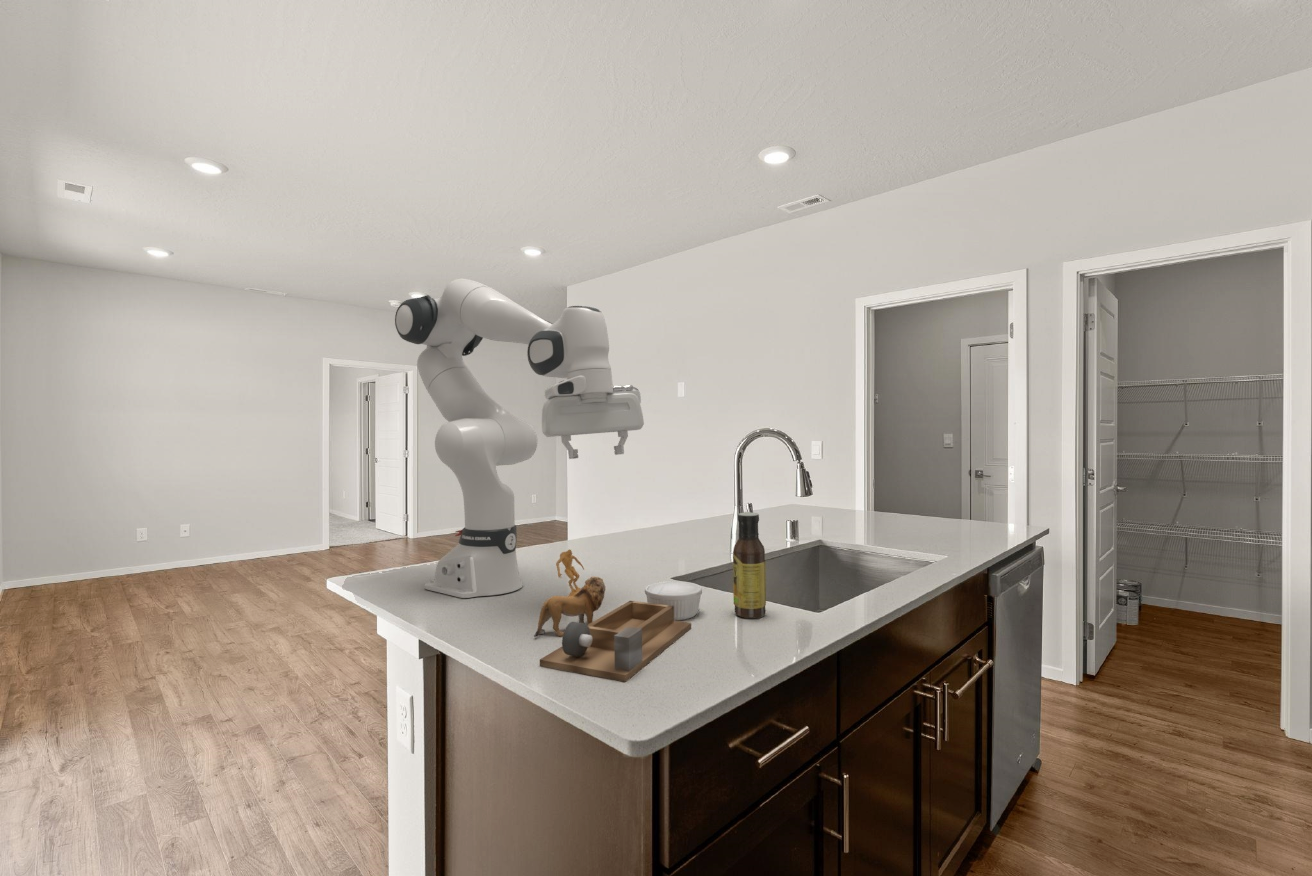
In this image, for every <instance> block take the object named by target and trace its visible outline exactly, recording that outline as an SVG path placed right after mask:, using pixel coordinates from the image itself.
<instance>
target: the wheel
mask: <svg viewBox="0 0 1312 876" xmlns="http://www.w3.org/2000/svg"><path fill="white" fill-rule="evenodd" d="M585 623H586V622H584V623H579V621H578V622H576V621H571V622H570V623H568V624H567V625H566V627H565V628H564V631H563V632H564V634H563V636H562V640H561V644H562V645H561V647H562V648H563V651H564V653H565V654H567V655H572V656H578V657H580V656H582V655H584V653H585V652H586V650H587V648H588V647H590V646H591V644H592V636H591V635H590V630H589V627H588V625H587V623H586V624H585Z"/></svg>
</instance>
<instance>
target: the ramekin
mask: <svg viewBox="0 0 1312 876" xmlns="http://www.w3.org/2000/svg"><path fill="white" fill-rule="evenodd" d="M702 593H703V588H702V586H701V585H700V584H697V583H694V582H689V581H684V580H683V581H682V580H681V581H680V580H669V581H660V582H653V583H651V584H648V585H647V586H646V587H645V588H644V594H645V596H646V601H647V602H646V603H654V604H662V605H670V606H674V620H675V621H683V620H689V619H691V618H693V617H695V616H696V615H697V613H698V612H699V610H700V602H701V595H702Z"/></svg>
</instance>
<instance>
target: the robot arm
mask: <svg viewBox="0 0 1312 876" xmlns="http://www.w3.org/2000/svg"><path fill="white" fill-rule="evenodd" d="M394 325H395V329H396V331H397V334H398V335H399V337H400V338H401V339H402V340H404V341H405V342H408V343H412V344H415V345H425V346H426V348H424V349H423V350H422V352H421V353H420V354H419V355H418V358H417V361H416V362H417V363H416V365H417V370H418V373H419V376H420V379H421V382H422V383H423V385H424V388H425V389H426V392H427V393H428V394H429V396H430V397H431V399H432V401H433V402H434V404H435V405H436V407H437V409H438V410H439V412H440V414H441V415H442V417H443V418H444V419H445V420H446V421H447V422H445V423H443V424H442V425H441V426H440V427H439V429H438V430H437V433H436V435H435V438H434V439H435V440H434V448H435V452H436V455H437V456H438V458H439V460H440V462H442V463H443V464H444V465H445V466H447V467H448V468H449V469H450V470H451V471H452V473H453V474H454V475H455V477H456V479H457V481H458V483H459V485H460V488H461V489H460V490H461V491H462V497H463V508H464V511H463V512H464V527H463V528H462V529H460V530H456V531H455V533H457V534H455V537H459V536H460V537H459V540H458V544H456V546H454V547H453V548H452V549H451V550H449V551H448V552H447V553H446V554H445V555H444V556H442V557H441V558H440V559H439V560H438V562H437V564H436V569H435V577H434V579H432V580H429V581H427V582H426V583H425V584H424V589H425V590H428V591H433V592H436V593H441V594H445V595H449V596H451V597H452V596H453V597H457V598H460V599H468V598H475V597H485V596H497V595H503V594H508V593H513V592H515V591H517V590H520V589H522V587H523V582H522V579H521V574H520V571H519V564H518V558H517V550H516V549H517V548H516V547H517V541H518V538H517V537H518V536H517V535H518V534H517V533H518V532H517V525H516V524H515V519H516V518H515V494H514V492H513V490H512V488H511V487H509V486H508V485H507V484H505V483H503V482H502V480H501V478H500V477H499V475H498V469H497V466H510V465H511V466H512V465H516V464H519V463H523V462H525V461H527V460H530V459H531V458H532V457H533V456H534V454H535V453H536V451H537V448H538V436H537V435H538V434H537V432H536V430H535V428H534V427H533V425H531V423H529V422H527V421H524V420H522V419H519V418H518V417H517V416H515V415H513V414H511V413H510V412H509V411H508V410H506V409H505V408H504V407H502V406H501V405H500V404H499V403H497V402H496V401H495V400H494V399H493V398H492V397H491V396H489V395H488V393H486V391H485V390H484V389H483V387H482V386H481V384H480V383H479V382H478V380H477V379H476V378H475V376H474V375H473V373H472V372H471V370H470V369H469V367H468V366H467V365H466V363H465V361H464V360H463V357H467V356H469V355H470V354H472V353H473V352H474V350H475V348H477V347H478V346H479V345H480V344H481V342H482V340H483V339H486V340H490V341H496V342H503V343H516V344H521V345H527V350H526V352H527V353H526V355H527V360H528V364H529V365H530V368H531V369H532V371H533V372H534V373H535V374H537V375H538V376H541V377H542V376H543V377H547V378H556V379H566V380H562V381H559V382H557V383H556V384H552V385H551V386H548V387H547V388H546V389H545V390H544V397H545V399H546V401H545V402H544V404H543V406H542V409H541V431H542V434H543V435H544V436H545V437H547V438H551V437H560V438H561V443H562V444H563V445H564V447H565V448H566V450H567V451H568V453H567V454H568V459H569V460H573V459H574V460H576V459H579V450H578V448H576V449H575V448H573V446H572V444H571V443H570V441H572V436H579V435H591V434H592V435H593V434H603V433H604V434H606V433H617V437H618V438H619V440H618V443H617V445H614V446H613V450H614V452H613V453H614V455H615V456H617V455H624V454H625V448H624V445H625V444H626V441H627V439H628V437H629V433H628V432H631V431H638V430H642V428H643V427H644V424H645V422H644V414H643V410H642V406H641V403H642V402H641V401H642V399H641V392H640V390H639V389H638V388H637V387H635V386H633V385H632V384H631V385H630V384H629V385H628V384H627V385H613V376H612V368H611V365H610V362H609V351H610V344H609V335H608V334H609V333H608V328H607V323H606V320H605V317H604V315H603V313H602V311H600V309H598V308H595V307H591V306H583V305H572V306H568V307H565V308H564V309H563V311H562V312H561V315H560V317H559V318H558V319H557V320H556V321H555V322H554V323H552V322H550V321H548V320H546V319H544V318H542V317H540V316H538V315H536V314H535V313H533V312H532V311H530V310H528V309H527V308H525V307H523V306H522V305H521V304H519V303H517V302H515V301H514V300H512V299H510V298H509V297H508V296H506V295H504V294H503V293H501V292H500V291H498V290H496V289H494V288H493V287H490V286H489V285H486V284H484V283H482V282H479V281H477V280H473V279H469V278H462V277H461V278H455V279H453V280H452V281H450V282H449V283H447V285H446V286H445V288H444V289H443V292H442V295H441V296H440V297H438V298H432V296H431V295H429V294H426V295H423V296H421V297H413V298H409V299H406V300H404V301H402V303H401V304H399V306H398V307H397V310H396V312H395V316H394Z"/></svg>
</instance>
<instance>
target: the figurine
mask: <svg viewBox="0 0 1312 876" xmlns="http://www.w3.org/2000/svg"><path fill="white" fill-rule="evenodd" d="M574 560H575V562H576V563H577V564H578V565H580V566H581V568H582V570H585V568H584V566H583V564H582V563H581V561H579V560H578V558H577V557H576V556H575V555H573V551H572V549H569V548H568V550H567V551H563V552H561V553H560V555H559V559H558V560H557V561H556V563H555V565H556V569H557V576H558V578H560V579H561V578H563V577H562V576H563V574H562V573H561V569H560V568H561V567H560V563H562V565H563V566H564V568H565V569H564V573H565V574H566V576H567V578H568V579H569V580H568V586H569V587H570V590H571V591H570V592H569V594H568V596H574V595H576V594H577V593H578V592H579V591H580V590H581V588H580V587H578V585H577V583H576V582H577V581H578V580H579V578H580V574H579V573H578V571H576V569H575V566H572V565H573V561H574ZM572 583H573V585H572ZM573 586H574V587H573ZM568 596H567V597H568Z"/></svg>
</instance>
